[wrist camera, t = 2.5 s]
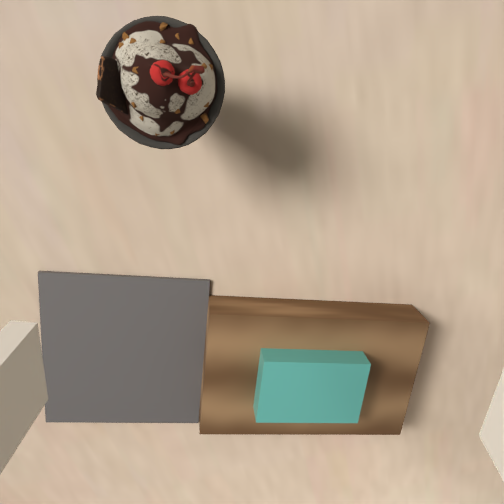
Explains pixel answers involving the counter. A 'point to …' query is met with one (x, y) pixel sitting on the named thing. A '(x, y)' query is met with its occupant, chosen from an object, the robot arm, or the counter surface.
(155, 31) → the sundae
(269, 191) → the counter surface
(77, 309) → the mat
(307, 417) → the rectangular block
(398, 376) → the brown wooden slab
